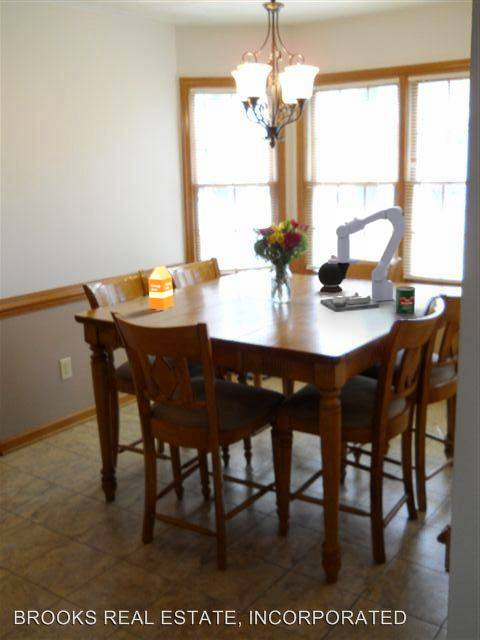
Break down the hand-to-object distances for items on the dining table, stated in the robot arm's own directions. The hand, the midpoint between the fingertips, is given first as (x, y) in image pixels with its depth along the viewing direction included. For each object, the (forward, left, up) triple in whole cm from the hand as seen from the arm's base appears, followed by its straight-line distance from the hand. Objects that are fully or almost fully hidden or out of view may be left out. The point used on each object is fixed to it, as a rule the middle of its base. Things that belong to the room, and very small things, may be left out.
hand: (343, 278), depth 330 cm
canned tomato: (-12, +40, -10) cm, 43 cm away
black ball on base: (-1, -19, -10) cm, 21 cm away
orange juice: (+86, -13, -10) cm, 88 cm away
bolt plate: (+4, +16, -9) cm, 18 cm away
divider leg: (+2, +15, -8) cm, 17 cm away
